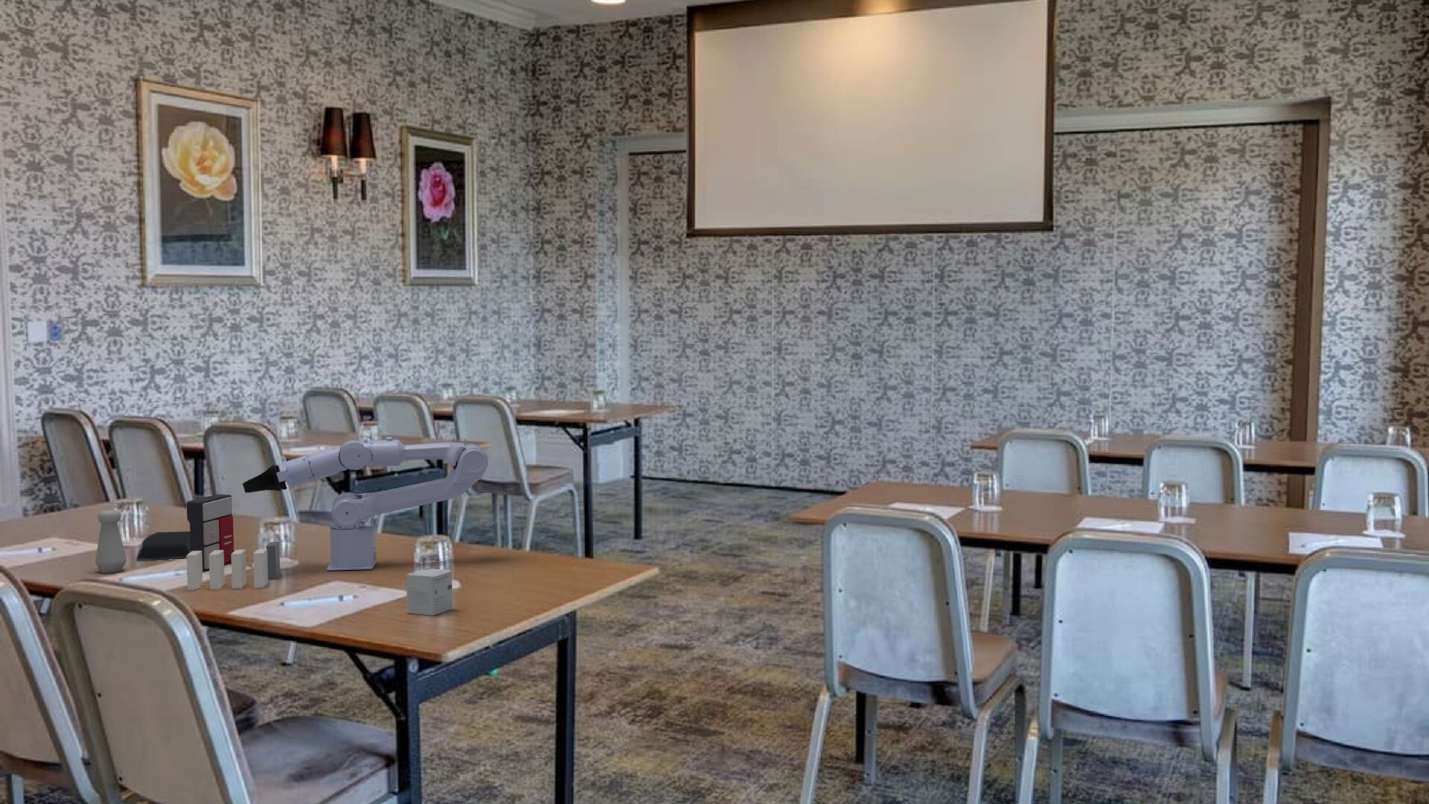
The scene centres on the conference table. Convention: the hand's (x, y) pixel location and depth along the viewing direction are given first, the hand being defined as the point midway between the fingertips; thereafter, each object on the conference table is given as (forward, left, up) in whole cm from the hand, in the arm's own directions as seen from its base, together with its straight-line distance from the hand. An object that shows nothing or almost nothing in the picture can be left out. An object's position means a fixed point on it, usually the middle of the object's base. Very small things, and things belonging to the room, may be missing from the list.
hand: (246, 487), depth 255 cm
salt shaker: (+29, -5, -18) cm, 35 cm away
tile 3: (-1, +13, -18) cm, 22 cm away
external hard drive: (+22, -25, -19) cm, 38 cm away
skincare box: (-40, +40, -18) cm, 59 cm away
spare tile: (-6, +6, -18) cm, 20 cm away
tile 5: (+7, +13, -18) cm, 24 cm away
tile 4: (+3, +13, -18) cm, 23 cm away
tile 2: (-5, +13, -18) cm, 23 cm away
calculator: (+9, -7, -18) cm, 22 cm away
